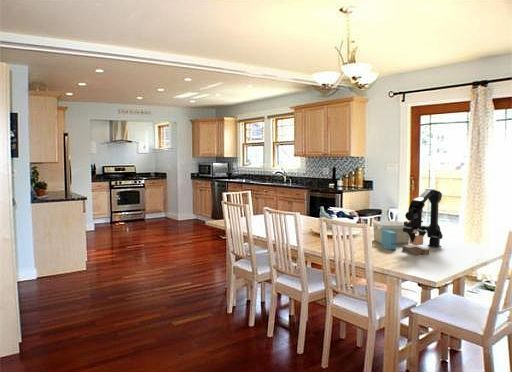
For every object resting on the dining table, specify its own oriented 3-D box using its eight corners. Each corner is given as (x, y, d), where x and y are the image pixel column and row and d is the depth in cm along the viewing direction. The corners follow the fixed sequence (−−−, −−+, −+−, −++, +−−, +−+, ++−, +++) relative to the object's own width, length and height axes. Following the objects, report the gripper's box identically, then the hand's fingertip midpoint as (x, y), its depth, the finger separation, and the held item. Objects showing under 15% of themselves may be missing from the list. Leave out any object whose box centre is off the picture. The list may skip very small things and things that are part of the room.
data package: (396, 249, 274) (397, 232, 273) (390, 250, 273) (391, 233, 272) (386, 246, 286) (387, 229, 285) (381, 246, 285) (381, 229, 284)
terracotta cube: (416, 242, 270) (416, 233, 270) (423, 244, 265) (423, 235, 264) (409, 243, 268) (409, 234, 268) (416, 245, 263) (416, 236, 262)
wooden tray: (414, 250, 275) (414, 244, 275) (429, 255, 262) (429, 249, 262) (402, 251, 272) (402, 245, 272) (416, 256, 259) (416, 250, 259)
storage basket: (401, 239, 309) (401, 220, 308) (412, 244, 293) (412, 224, 292) (371, 240, 306) (372, 220, 305) (381, 244, 290) (381, 224, 289)
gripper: (418, 216, 276) (417, 238, 277) (397, 217, 269) (396, 240, 270) (431, 218, 266) (430, 241, 267) (409, 220, 259) (408, 244, 260)
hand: (416, 241), depth 266 cm, fingers closed on terracotta cube, 6 cm apart
